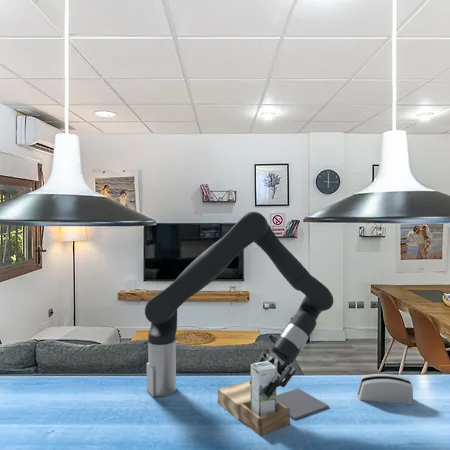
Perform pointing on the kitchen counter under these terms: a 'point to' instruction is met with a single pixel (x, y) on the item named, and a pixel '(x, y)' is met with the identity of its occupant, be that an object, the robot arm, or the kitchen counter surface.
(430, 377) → the kitchen counter surface
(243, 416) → the wooden drawer box
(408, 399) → the grey arched block
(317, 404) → the mat
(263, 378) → the syrup box
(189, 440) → the kitchen counter surface
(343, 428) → the kitchen counter surface
